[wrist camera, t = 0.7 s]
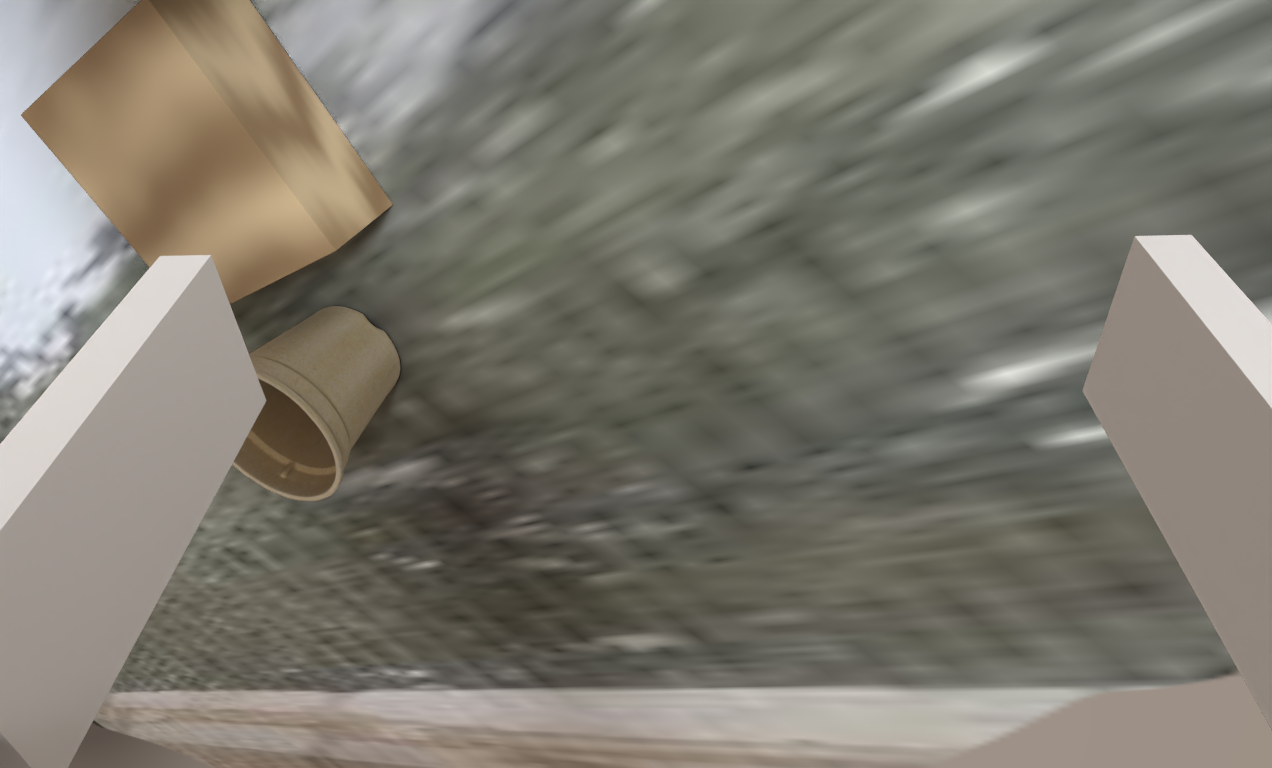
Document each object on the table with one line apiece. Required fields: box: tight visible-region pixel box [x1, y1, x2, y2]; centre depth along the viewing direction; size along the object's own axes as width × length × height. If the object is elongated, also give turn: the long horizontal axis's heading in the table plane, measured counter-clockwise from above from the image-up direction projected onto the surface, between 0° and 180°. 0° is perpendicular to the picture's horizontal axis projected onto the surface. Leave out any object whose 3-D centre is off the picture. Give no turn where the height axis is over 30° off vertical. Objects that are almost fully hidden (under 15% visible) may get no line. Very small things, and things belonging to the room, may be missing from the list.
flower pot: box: [232, 306, 401, 501], centre depth 52 cm, size 9×9×9 cm
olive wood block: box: [21, 0, 393, 304], centre depth 47 cm, size 13×13×5 cm
